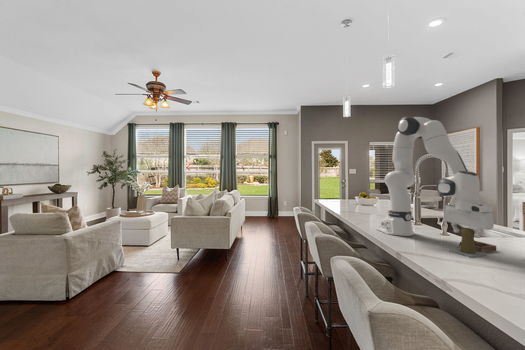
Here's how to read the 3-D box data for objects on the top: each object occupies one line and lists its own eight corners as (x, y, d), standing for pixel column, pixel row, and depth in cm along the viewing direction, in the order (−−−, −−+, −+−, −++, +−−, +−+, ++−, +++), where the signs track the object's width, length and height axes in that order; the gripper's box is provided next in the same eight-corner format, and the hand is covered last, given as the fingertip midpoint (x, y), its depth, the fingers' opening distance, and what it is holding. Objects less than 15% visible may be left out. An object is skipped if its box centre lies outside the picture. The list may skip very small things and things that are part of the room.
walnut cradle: (459, 247, 130) (459, 242, 130) (473, 245, 132) (473, 240, 132) (481, 253, 120) (481, 247, 120) (496, 250, 123) (496, 245, 123)
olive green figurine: (462, 249, 124) (462, 226, 124) (478, 252, 119) (478, 228, 119) (457, 251, 121) (457, 228, 121) (473, 254, 116) (473, 230, 116)
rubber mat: (449, 250, 124) (449, 249, 124) (464, 248, 126) (464, 247, 126) (471, 257, 114) (471, 256, 114) (487, 255, 117) (487, 253, 117)
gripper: (440, 203, 129) (440, 230, 130) (486, 209, 109) (485, 241, 110) (450, 202, 131) (449, 229, 131) (496, 208, 111) (495, 240, 112)
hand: (466, 234), depth 120 cm, fingers open, 8 cm apart
